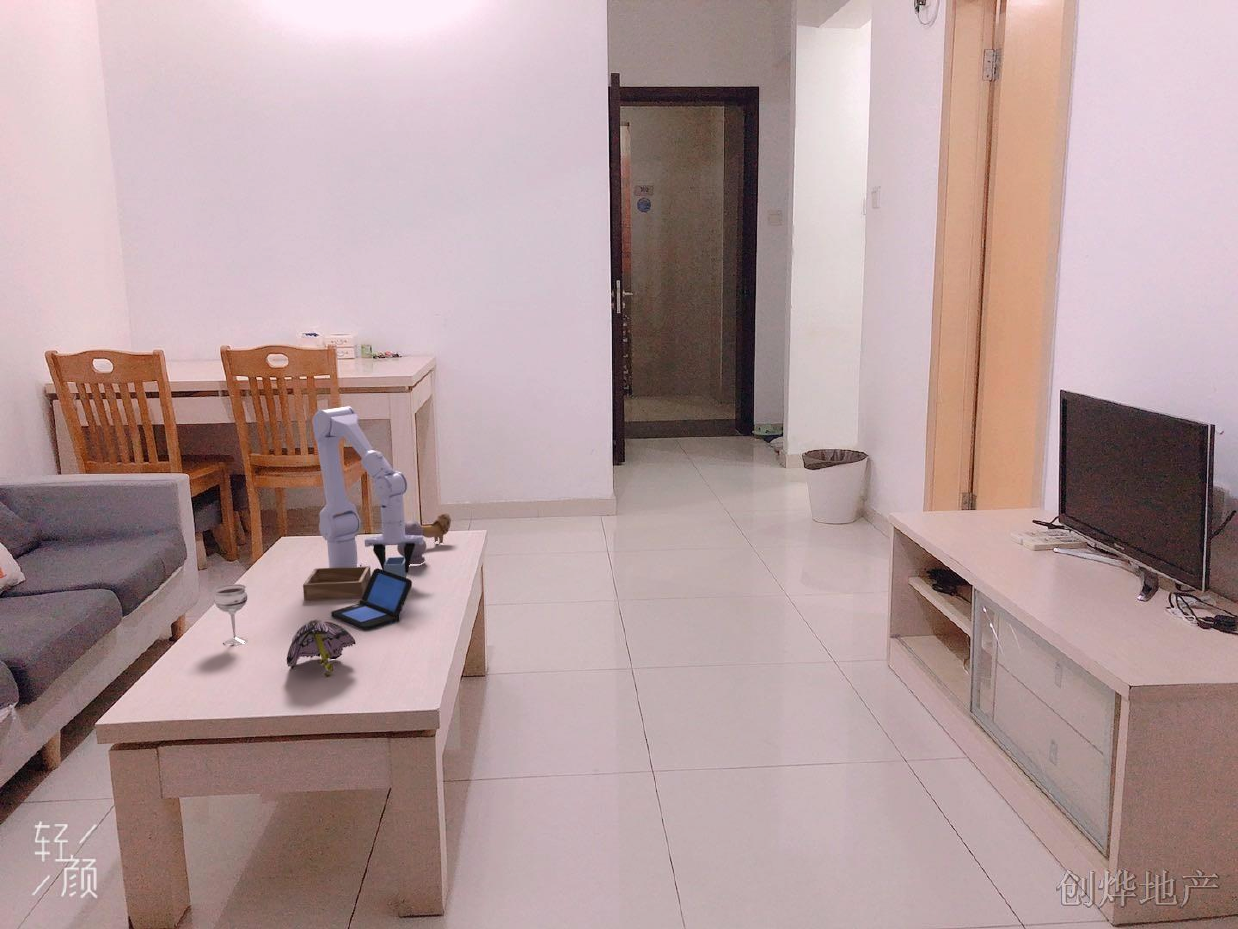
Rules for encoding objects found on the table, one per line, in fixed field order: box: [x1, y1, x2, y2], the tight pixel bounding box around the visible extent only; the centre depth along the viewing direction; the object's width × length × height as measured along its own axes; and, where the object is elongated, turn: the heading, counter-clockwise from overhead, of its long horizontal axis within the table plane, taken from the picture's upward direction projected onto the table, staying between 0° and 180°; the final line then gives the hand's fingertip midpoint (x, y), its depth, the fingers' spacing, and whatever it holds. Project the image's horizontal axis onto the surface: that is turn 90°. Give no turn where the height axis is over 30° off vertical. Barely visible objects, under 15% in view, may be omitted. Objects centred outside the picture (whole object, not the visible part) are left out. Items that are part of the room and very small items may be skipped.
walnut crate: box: [302, 565, 372, 601], centre depth 257 cm, size 14×14×4 cm
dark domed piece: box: [286, 619, 357, 677], centre depth 205 cm, size 14×12×15 cm
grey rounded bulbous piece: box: [396, 518, 427, 564], centre depth 279 cm, size 8×8×12 cm
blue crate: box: [384, 556, 409, 578], centre depth 261 cm, size 7×5×4 cm
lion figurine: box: [421, 512, 452, 544], centre depth 296 cm, size 15×5×9 cm, turn 131°
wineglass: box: [213, 583, 248, 645], centre depth 221 cm, size 7×7×12 cm
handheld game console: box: [330, 568, 413, 631], centre depth 236 cm, size 16×13×9 cm
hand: (396, 572), depth 261 cm, fingers closed on blue crate, 5 cm apart
